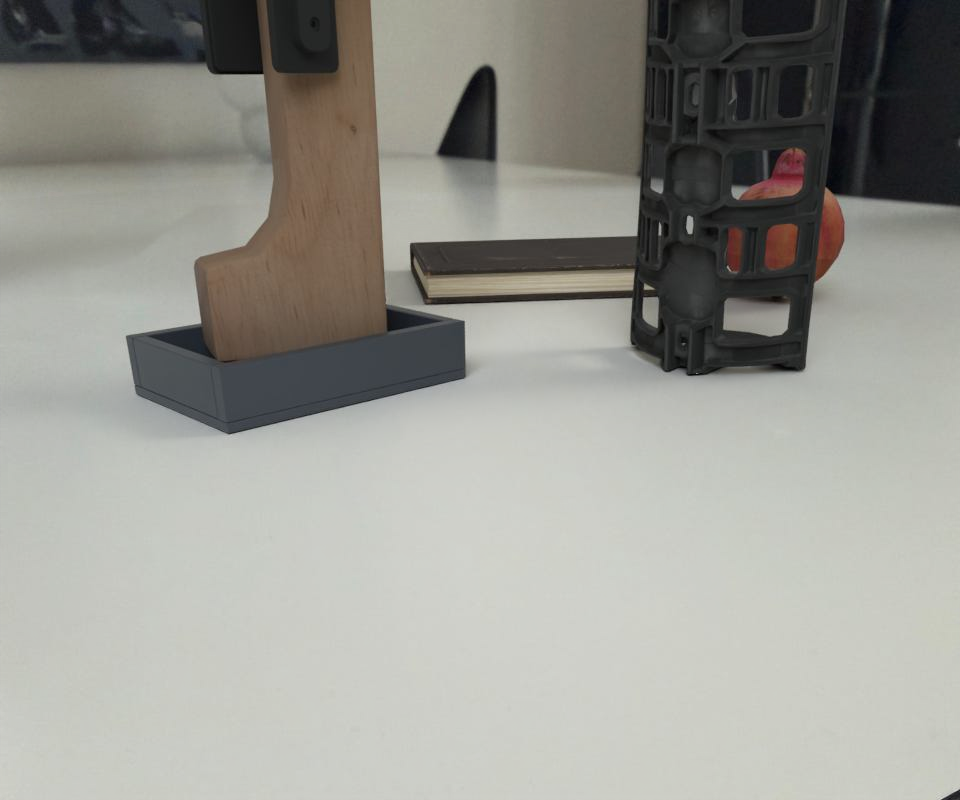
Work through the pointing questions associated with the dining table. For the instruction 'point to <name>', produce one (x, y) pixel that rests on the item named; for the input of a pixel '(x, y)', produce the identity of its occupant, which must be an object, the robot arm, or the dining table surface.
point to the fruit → (785, 236)
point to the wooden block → (308, 213)
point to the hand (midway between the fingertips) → (271, 68)
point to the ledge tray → (295, 371)
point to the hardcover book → (526, 269)
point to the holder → (727, 182)
